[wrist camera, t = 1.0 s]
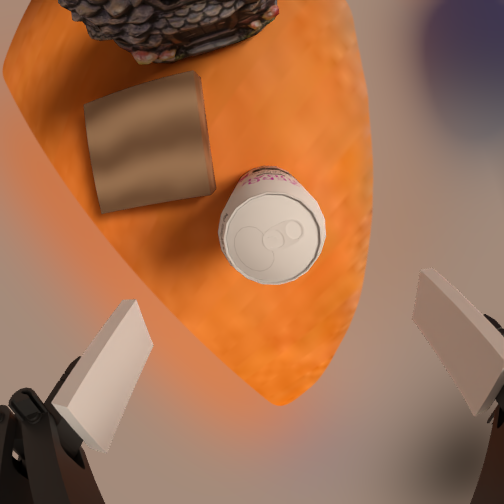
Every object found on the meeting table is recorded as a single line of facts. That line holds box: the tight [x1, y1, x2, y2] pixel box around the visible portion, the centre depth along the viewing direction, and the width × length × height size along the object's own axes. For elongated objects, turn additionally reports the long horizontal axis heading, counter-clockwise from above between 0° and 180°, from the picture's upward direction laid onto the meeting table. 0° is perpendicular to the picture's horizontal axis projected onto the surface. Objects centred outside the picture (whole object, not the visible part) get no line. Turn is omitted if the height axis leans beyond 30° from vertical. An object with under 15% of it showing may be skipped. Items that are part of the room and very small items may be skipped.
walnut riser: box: [84, 71, 216, 214], centre depth 30 cm, size 14×14×4 cm
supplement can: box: [218, 166, 326, 285], centre depth 27 cm, size 8×8×15 cm
